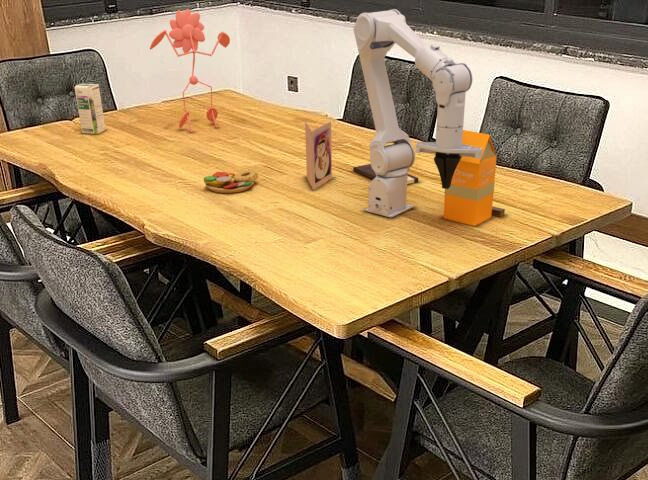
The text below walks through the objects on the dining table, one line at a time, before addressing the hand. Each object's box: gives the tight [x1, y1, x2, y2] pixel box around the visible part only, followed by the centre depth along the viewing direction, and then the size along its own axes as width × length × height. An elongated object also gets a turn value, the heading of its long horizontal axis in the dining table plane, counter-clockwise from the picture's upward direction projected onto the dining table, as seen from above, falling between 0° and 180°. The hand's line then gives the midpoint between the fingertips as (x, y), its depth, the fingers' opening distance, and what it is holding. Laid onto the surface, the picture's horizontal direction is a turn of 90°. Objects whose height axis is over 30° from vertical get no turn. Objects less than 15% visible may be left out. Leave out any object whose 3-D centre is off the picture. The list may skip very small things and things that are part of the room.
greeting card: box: [304, 120, 333, 191], centre depth 218 cm, size 11×7×15 cm, turn 155°
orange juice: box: [442, 129, 498, 227], centre depth 193 cm, size 8×9×20 cm
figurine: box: [149, 8, 234, 133], centre depth 266 cm, size 15×26×35 cm, turn 125°
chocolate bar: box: [353, 163, 419, 185], centre depth 226 cm, size 9×1×18 cm
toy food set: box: [203, 169, 259, 194], centre depth 220 cm, size 13×13×3 cm
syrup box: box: [74, 83, 107, 135], centre depth 267 cm, size 6×6×14 cm
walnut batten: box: [491, 205, 506, 218], centre depth 202 cm, size 2×12×2 cm, turn 50°
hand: (446, 187), depth 186 cm, fingers closed
